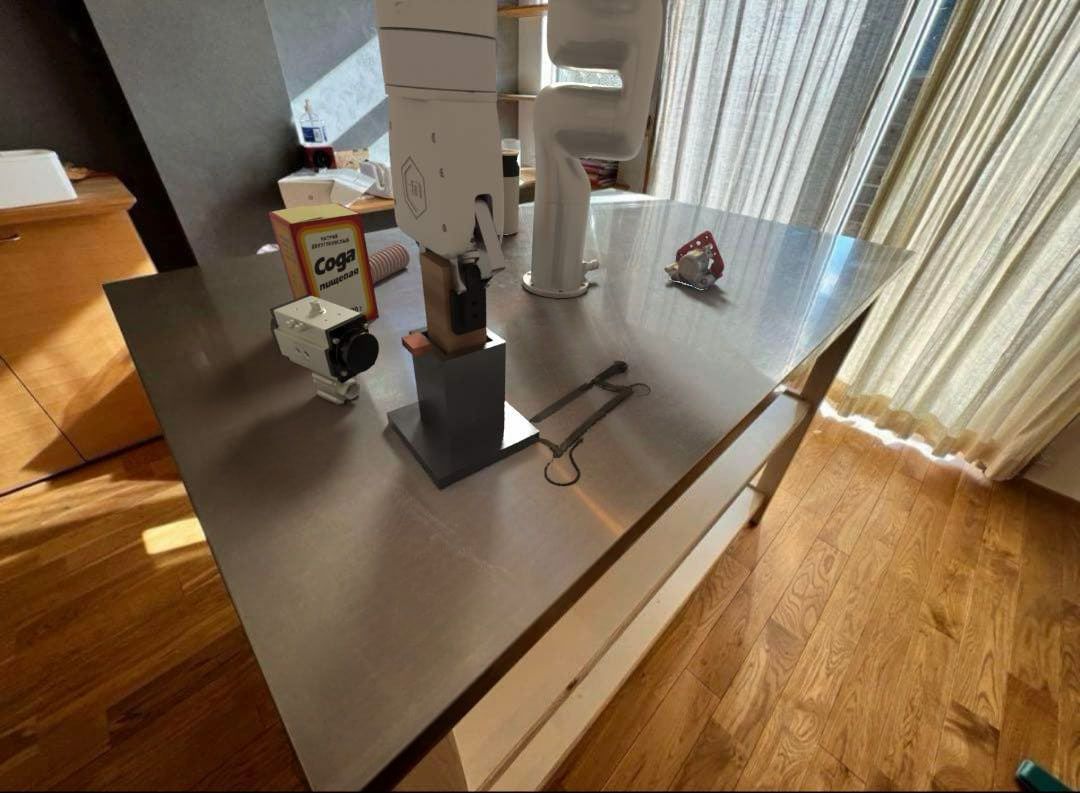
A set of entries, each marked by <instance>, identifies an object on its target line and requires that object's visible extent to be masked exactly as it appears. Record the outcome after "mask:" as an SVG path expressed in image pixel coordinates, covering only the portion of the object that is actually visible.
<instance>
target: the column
mask: <svg viewBox="0 0 1080 793" xmlns="http://www.w3.org/2000/svg"><path fill="white" fill-rule="evenodd" d="M419 254H420V262H419V265H420V264H421V266H420V272H421V273H420V274H421V281H422V282H421V283H422V291H423V300H424V310H425V319H426V327H427V330H428V340H429V341H431V342H432V343H433V344H434V345H435V346H436V347H437V348H438V349H439V350H441V351H442V352H443V353H444V354H445V355H446V356H447V355H450V354H453V353H456V352H459V351H463V350H466V349H469V348H472V347H475V346H479V345H482V344H485V343H487V331H486V328H487V325H486V326H485V328H483V329H479V330H476V331H472V332H469V333H466V334H462V335H456V334H454V333H453V332H452V322H451V308H450V293H449V291H450V290H454V285H453V278H452V272H451V265H450V259H445V258H443V257H441V256H439V255H438V254H436V253H434V252H433V251H429V252H423V253H419V252H418V255H419ZM474 264H475V260H474V258H473V259H468V260H463V265H464V273H465V271H466V270H467V269H468V267H469V266H470V265H474Z"/></svg>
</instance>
